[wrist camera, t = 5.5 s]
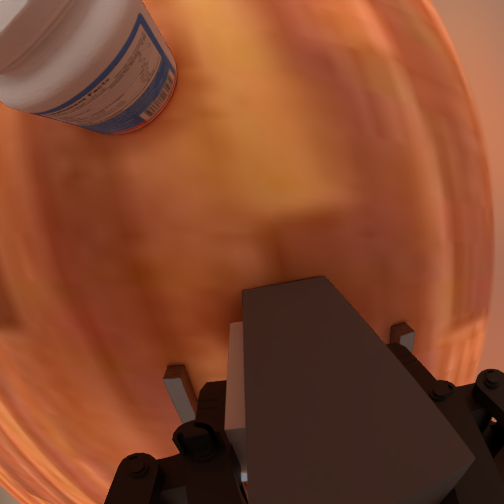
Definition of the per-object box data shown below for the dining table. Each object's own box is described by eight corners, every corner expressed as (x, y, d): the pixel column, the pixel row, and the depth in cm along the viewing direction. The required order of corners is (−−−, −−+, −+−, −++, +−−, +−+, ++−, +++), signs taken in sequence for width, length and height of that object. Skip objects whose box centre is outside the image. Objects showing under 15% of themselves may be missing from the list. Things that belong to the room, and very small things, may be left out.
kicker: (190, 298, 13) (108, 520, 2) (370, 266, 13) (545, 398, 2) (232, 435, 15) (231, 583, 5) (364, 409, 16) (427, 537, 5)
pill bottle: (78, 69, 10) (-40, 1, 1) (168, 29, 10) (103, -101, 1) (91, 154, 12) (-73, 138, 2) (190, 115, 12) (91, -14, 2)
